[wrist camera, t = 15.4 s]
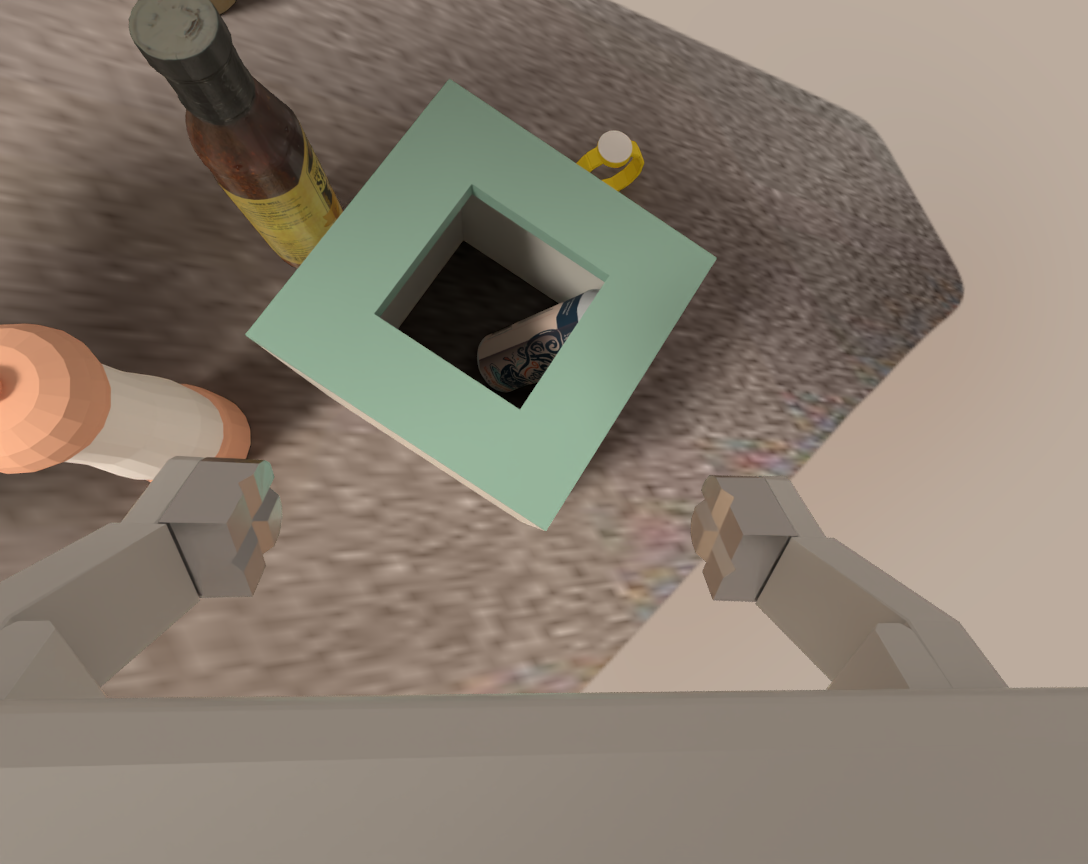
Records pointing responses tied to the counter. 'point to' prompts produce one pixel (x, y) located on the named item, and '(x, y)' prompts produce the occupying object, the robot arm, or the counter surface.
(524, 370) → the beer can
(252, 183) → the sauce bottle
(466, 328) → the counter surface
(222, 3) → the plant pot
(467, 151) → the recycling bin
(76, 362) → the pepper shaker
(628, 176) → the watch
